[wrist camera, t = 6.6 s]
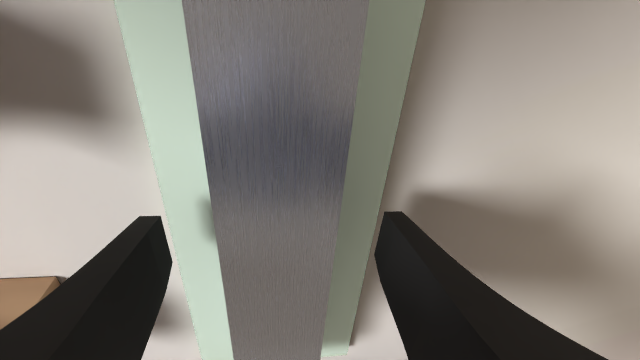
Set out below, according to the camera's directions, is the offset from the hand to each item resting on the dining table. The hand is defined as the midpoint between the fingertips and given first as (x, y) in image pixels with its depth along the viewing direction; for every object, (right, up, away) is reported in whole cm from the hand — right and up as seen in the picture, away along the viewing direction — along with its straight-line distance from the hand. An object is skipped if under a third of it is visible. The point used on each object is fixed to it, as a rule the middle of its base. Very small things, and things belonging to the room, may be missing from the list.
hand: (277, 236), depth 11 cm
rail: (-2, 0, 0) cm, 2 cm away
